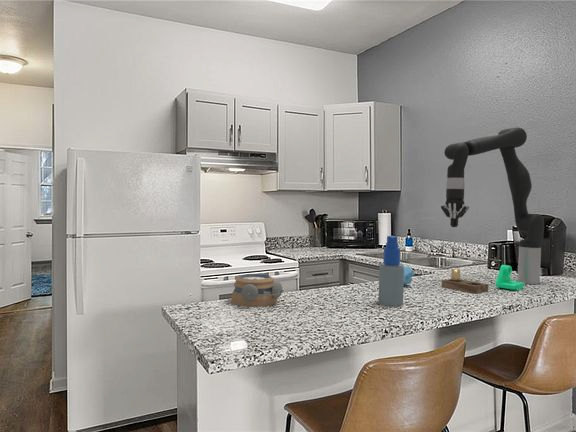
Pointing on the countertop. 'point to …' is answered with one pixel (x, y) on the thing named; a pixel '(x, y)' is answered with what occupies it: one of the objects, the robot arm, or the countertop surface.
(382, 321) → the countertop surface
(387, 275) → the spray bottle
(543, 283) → the countertop surface
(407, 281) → the teapot
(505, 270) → the camera mount
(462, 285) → the jig
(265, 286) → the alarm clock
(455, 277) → the bushing
